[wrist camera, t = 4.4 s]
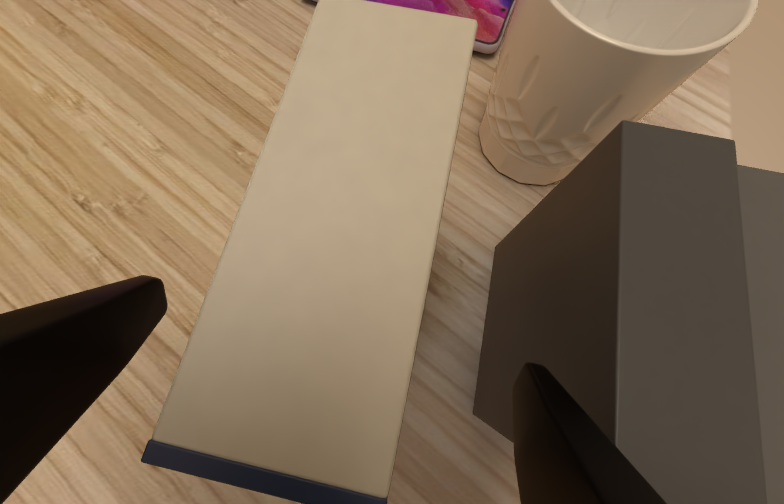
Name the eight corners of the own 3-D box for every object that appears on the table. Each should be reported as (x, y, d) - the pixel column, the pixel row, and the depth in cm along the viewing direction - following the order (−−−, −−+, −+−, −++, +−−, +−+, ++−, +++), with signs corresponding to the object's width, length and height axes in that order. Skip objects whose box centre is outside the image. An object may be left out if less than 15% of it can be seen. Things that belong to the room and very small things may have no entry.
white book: (386, 399, 17) (383, 525, 5) (319, 383, 17) (139, 462, 5) (421, 231, 20) (479, 18, 7) (363, 218, 20) (320, -10, 7)
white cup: (466, 188, 20) (535, 41, 11) (471, 83, 23) (532, -115, 13) (597, 201, 20) (784, 64, 11) (589, 94, 23) (737, -97, 13)
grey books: (591, 442, 17) (948, 597, 6) (472, 414, 17) (613, 514, 6) (598, 267, 19) (857, 162, 9) (495, 246, 19) (622, 118, 9)
